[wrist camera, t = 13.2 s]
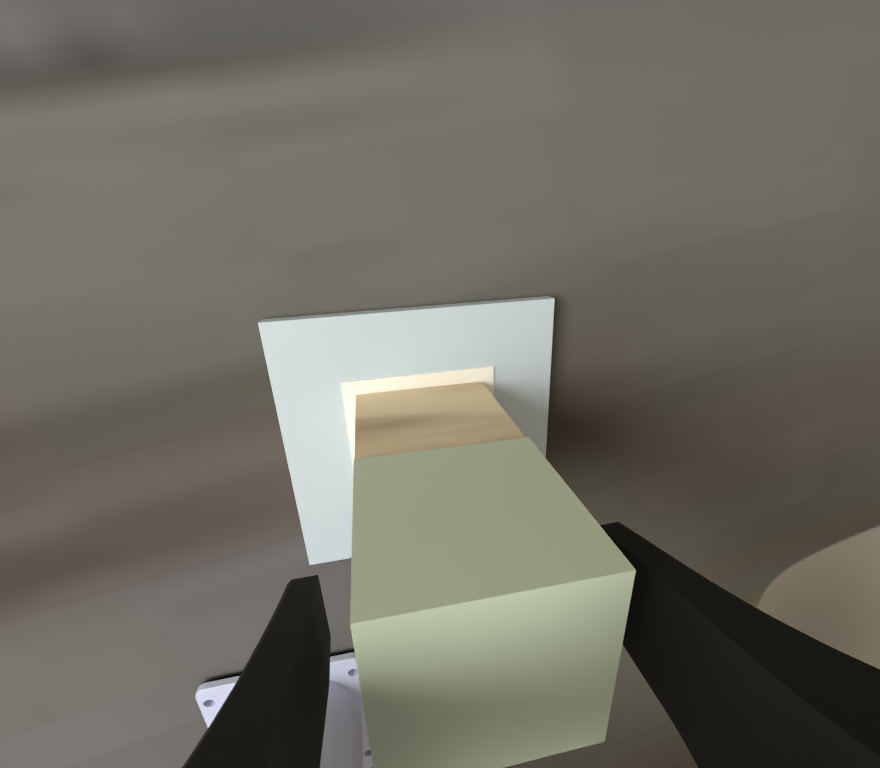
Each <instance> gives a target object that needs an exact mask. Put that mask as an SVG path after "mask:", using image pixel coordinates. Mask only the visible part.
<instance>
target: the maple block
mask: <svg viewBox="0 0 880 768" xmlns="http://www.w3.org/2000/svg"><path fill="white" fill-rule="evenodd" d="M518 438H526V437H525V436H524V435H523V433H522V432H521V431H520V430H519V428H518V427H517V426H516V425H515V423H514V422H513V421H512V419H511V418H510V417H509V416H508V414H507V413H506V412H505V411H504V409H503V408H502V407H501V406H500V404H499V403H498V402H497V401H496V399H495V398H494V397H493V396H492V394H491V393H490V392H489V390H488V389H487V388H486V387H485V385H484V384H483V383H482V382H472V383H462V384H453V385H443V386H434V387H424V388H415V389H405V390H396V391H387V392H377V393H368V394H358V395H356V406H355V459H360V458H368V457H376V456H384V455H392V454H400V453H408V452H416V451H424V450H432V449H439V448H447V447H455V446H463V445H471V444H479V443H487V442H495V441H503V440H511V439H518Z"/></svg>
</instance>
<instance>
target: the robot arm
mask: <svg viewBox="0 0 880 768" xmlns="http://www.w3.org/2000/svg"><path fill="white" fill-rule="evenodd" d="M600 526H601V527H602V529H603V530H604V531H605V532H606V534H607V535H608V536H609V537H610V539H611V540H612V541H613V542H614V543H615V545H616V546H617V547H618V548H619V550H620V551H621V552H622V553H623V555H624V556H625V557H626V558H627V560H628V561H629V562H630V563H631V565H632V566H633V567H634V568H635V569H636V573H635V578H634V584H633V589H632V595H631V600H630V606H629V611H628V617H627V622H626V628H625V633H624V639H623V645H624V647H625V649H626V650H627V652H628V653H629V655H630V656H631V658H632V659H633V661H634V663H635V664H636V666H637V667H638V669H639V670H640V672H641V673H642V675H643V676H644V678H645V680H646V681H647V683H648V684H649V686H650V687H651V689H652V690H653V692H654V694H655V695H656V697H657V698H658V700H659V701H660V703H661V704H662V706H663V707H664V709H665V711H666V712H667V714H668V715H669V717H670V718H671V720H672V722H673V723H674V725H675V727H676V728H677V730H678V732H679V733H680V735H681V737H682V738H683V740H684V742H685V744H686V746H687V747H688V749H689V751H690V753H691V755H692V757H693V759H694V760H695V762H696V764H697V766H698V768H880V669H877V668H875V667H873V666H871V665H868V664H866V663H864V662H862V661H860V660H858V659H855V658H853V657H851V656H849V655H847V654H844V653H842V652H840V651H838V650H836V649H834V648H832V647H830V646H828V645H826V644H824V643H822V642H820V641H818V640H815V639H814V638H812V637H810V636H808V635H806V634H804V633H802V632H800V631H798V630H796V629H794V628H792V627H790V626H788V625H786V624H784V623H783V622H781V621H779V620H777V619H775V618H773V617H771V616H770V615H768V614H766V613H764V612H762V611H760V610H759V609H757V608H755V607H753V606H752V605H750V604H748V603H747V602H745V601H743V600H741V599H740V598H738V597H736V596H734V595H733V594H731V593H729V592H728V591H726V590H724V589H723V588H721V587H719V586H718V585H716V584H714V583H713V582H711V581H709V580H708V579H706V578H705V577H703V576H701V575H700V574H698V573H697V572H695V571H693V570H692V569H690V568H689V567H687V566H686V565H684V564H682V563H681V562H679V561H678V560H676V559H675V558H673V557H672V556H670V555H669V554H667V553H666V552H664V551H662V550H661V549H659V548H658V547H656V546H655V545H653V544H652V543H650V542H649V541H647V540H646V539H644V538H643V537H641V536H640V535H638V534H636V533H635V532H633V531H632V530H630V529H629V528H627V527H625V526H624V525H622V524H621V523H619V522H616V523H610V524H604V525H600ZM195 696H196V700H197V703H198V705H199V708H200V710H201V712H202V715H203V717H204V720H205V722H206V725H207V727H208V729H207V731H206V732H205V734H204V736H203V737H202V739H201V740H200V742H199V743H198V745H197V746H196V748H195V749H194V751H193V752H192V754H191V755H190V757H189V758H188V760H187V761H186V763H185V764H184V766H183V767H182V768H372V767H373V762H372V756H371V749H370V743H369V737H368V731H367V725H366V719H365V712H364V706H363V700H362V694H361V688H360V682H359V676H358V669H357V663H356V657H355V652H351V653H346V654H341V655H336V656H332V657H330V631H329V626H328V621H327V616H326V612H325V607H324V602H323V597H322V592H321V587H320V583H319V578H318V575H316V576H310V577H304V578H299V579H293V580H291V581H290V582H289V583H288V584H287V586H286V589H285V591H284V593H283V595H282V597H281V599H280V602H279V604H278V606H277V608H276V610H275V612H274V614H273V616H272V618H271V620H270V622H269V624H268V626H267V628H266V629H265V631H264V633H263V635H262V637H261V639H260V641H259V643H258V644H257V646H256V648H255V650H254V652H253V654H252V655H251V657H250V659H249V661H248V663H247V664H246V666H245V668H244V670H243V672H242V673H241V675H240V676H235V677H230V678H226V679H221V680H216V681H211V682H206V683H204V684H202V685H200V686H199V688H198V690H197V692H196V695H195Z"/></svg>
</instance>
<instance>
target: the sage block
mask: <svg viewBox="0 0 880 768" xmlns="http://www.w3.org/2000/svg"><path fill="white" fill-rule="evenodd" d="M635 573H636V569H635V568H634V567H633V566H632V565H631V563H630V562H629V561H628V560H627V558H626V557H625V556H624V555H623V553H622V552H621V551H620V550H619V548H618V547H617V546H616V545H615V543H614V542H613V541H612V540H611V539H610V537H609V536H608V535H607V534H606V532H605V531H604V530H603V529H602V527H601V526H600V525H599V524H598V522H597V521H596V520H595V519H594V517H593V516H592V515H591V514H590V513H589V511H588V510H587V509H586V508H585V506H584V505H583V504H582V503H581V501H580V500H579V499H578V498H577V496H576V495H575V494H574V493H573V491H572V490H571V489H570V488H569V487H568V485H567V484H566V483H565V482H564V480H563V479H562V478H561V477H560V475H559V474H558V473H557V472H556V470H555V469H554V468H553V467H552V465H551V464H550V463H549V462H548V461H547V459H546V458H545V457H544V456H543V454H542V453H541V452H540V451H539V449H538V448H537V447H536V446H535V444H534V443H533V442H532V441H531V439H530V438H529V437H526V438H518V439H511V440H503V441H495V442H487V443H479V444H471V445H463V446H455V447H447V448H439V449H432V450H424V451H416V452H408V453H400V454H392V455H384V456H376V457H368V458H360V459H354V467H353V514H352V561H351V608H350V626H351V632H352V639H353V645H354V651H355V657H356V663H357V669H358V676H359V682H360V688H361V694H362V700H363V706H364V712H365V719H366V725H367V731H368V737H369V743H370V749H371V756H372V762H373V768H504V767H508V766H512V765H516V764H520V763H524V762H528V761H532V760H535V759H539V758H543V757H547V756H551V755H555V754H559V753H563V752H566V751H570V750H574V749H578V748H582V747H586V746H590V745H594V744H597V743H601V742H605V737H606V732H607V726H608V721H609V715H610V710H611V704H612V699H613V693H614V688H615V682H616V677H617V671H618V666H619V660H620V655H621V650H622V644H623V639H624V633H625V628H626V622H627V617H628V611H629V606H630V600H631V595H632V589H633V584H634V578H635Z"/></svg>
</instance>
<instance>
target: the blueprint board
mask: <svg viewBox="0 0 880 768" xmlns="http://www.w3.org/2000/svg"><path fill="white" fill-rule="evenodd" d="M554 301H555V298H552V297H550V296H541V297H529V298H516V299H504V300H492V301H480V302H467V303H455V304H443V305H431V306H418V307H406V308H394V309H381V310H369V311H357V312H345V313H332V314H320V315H308V316H296V317H283V318H271V319H261V320H260V321H259V322H258V325H259V330H260V335H261V339H262V344H263V349H264V353H265V358H266V363H267V367H268V372H269V377H270V382H271V386H272V391H273V396H274V400H275V405H276V410H277V414H278V419H279V424H280V428H281V433H282V438H283V442H284V447H285V452H286V456H287V461H288V466H289V470H290V475H291V480H292V485H293V489H294V494H295V499H296V503H297V508H298V513H299V517H300V522H301V527H302V531H303V536H304V541H305V545H306V550H307V555H308V559H309V564H310V565H312V564H318V563H324V562H330V561H336V560H341V559H347V558H352V514H353V467H354V459H355V406H356V395H358V394H368V393H377V392H387V391H396V390H405V389H415V388H424V387H434V386H443V385H453V384H462V383H472V382H482V383H483V384H484V385H485V387H486V388H487V389H488V390H489V392H490V393H491V394H492V396H493V397H494V398H495V399H496V401H497V402H498V403H499V404H500V406H501V407H502V408H503V409H504V411H505V412H506V413H507V414H508V416H509V417H510V418H511V419H512V421H513V422H514V423H515V425H516V426H517V427H518V428H519V430H520V431H521V432H522V433H523V435H524V436H525V437H529V438H530V439H531V441H532V442H533V443H534V444H535V446H536V447H537V448H538V449H539V451H540V452H541V453H542V454H543V456H544V457H545V458H546V444H547V426H548V408H549V390H550V372H551V355H552V337H553V319H554Z"/></svg>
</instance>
